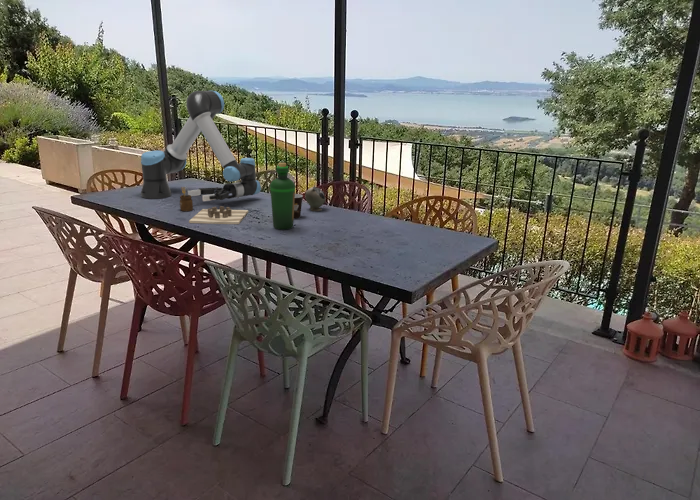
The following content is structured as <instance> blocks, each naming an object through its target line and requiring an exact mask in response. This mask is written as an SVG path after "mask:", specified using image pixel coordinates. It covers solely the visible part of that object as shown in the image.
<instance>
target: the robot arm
mask: <svg viewBox="0 0 700 500" xmlns="http://www.w3.org/2000/svg"><path fill="white" fill-rule="evenodd" d="M224 107H225V101H224V97H223V96H222V95H221V93H220V92H218V91H216V90H211V89H209V90H194V91H192V92H191V93H190V94H189V95H188V96H187V99H186V111H187V112H188V115H189V117H188V118H187V120H186V122H185V123H184V125H183V127H182V128H181V130H180V131H179V132H178V133H177V136H176V138H175V139H174V140H173V141H172V144H167V145H166V147H165V149H164V150H149V151H145V152H143V153H142V154H141V158H140V164H141V172H142V179H143V183H142V188H141V191H140V195H141V196H142V197H141V196H140V197H141V198H142V199H143V198H144V199H151V200H154V199H156V200H157V199H165V198H170V197H171V196H172V190H171V188H170V186H169V184H168V182H167V181H168V180H167V174H168V175H169V174H173V173H178V172H180V171H182V170H183V169H185V168H186V165H187V163H188V161H187V158H188V155H187V153H188V151H189V150H190V149H191V147H192V146H193V144H194V142H195V141H196V139H197V137H198V136H199V135H200V133H202V134H203V136H204V138H205V140H206V142H207V143H208V146H209V147H210V148H211V150H212V152H213V153H214V156H215V157H216V158H217V161H219V164H220V165H221V167H222V168H223V171H222V176H223V178H224V180H225V181H227V182H229V183H225V184H224V185H223V187H204V188H203V187H202V188H201V187H199V188H198V189H193V190H187V195H191V197H196V196H202V202H210V201H215V200H216V201H217V200H219V201H223V200H225V199H229V200H230V199H234V198H237V199H239V198H241V197H247V196H253V195H254V196H255V195H258V194H259V193H261V189H262V188H261V182H260V181H259V180H257V179H256V178H257V177H256V160H255V159H254V158H252V157H242V158H241V159H240V160H239V161H240V162H239V163H238V161H237V159H236V158H235V156H234V154H233V153H232V151H231V149H230V148H229V146H228V144H227V143H226V140H225V139H224V138H223V136H222V134H221V132H220V130H219V129H218V127H217V125H216V124H215V122H214V120H213V119H214V118H215V116H216V115H219V114H221V113H222V112H223V110H224V109H225V108H224ZM239 180H240V181H239ZM237 181H238V182H237Z"/></svg>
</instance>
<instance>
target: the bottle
mask: <svg viewBox="0 0 700 500" xmlns="http://www.w3.org/2000/svg"><path fill="white" fill-rule="evenodd" d="M277 164H278V165H277V166H276V169H275V172H276V174H277V177H276V178H275V179H273V180H272V181H271V183H270V184H269V189H270V201H271V213H272V225H273V228H274V229H276V230H282V231H284V230H290V229H293V227H294V219H295V218H294V201H295V194H296V184H295V182H294V181H293V180H292V179H290V178H289V177H288V175H289V174H288V173H289V172H290V169H289V166H288V165H287V163H286V162H278V163H277Z"/></svg>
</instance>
